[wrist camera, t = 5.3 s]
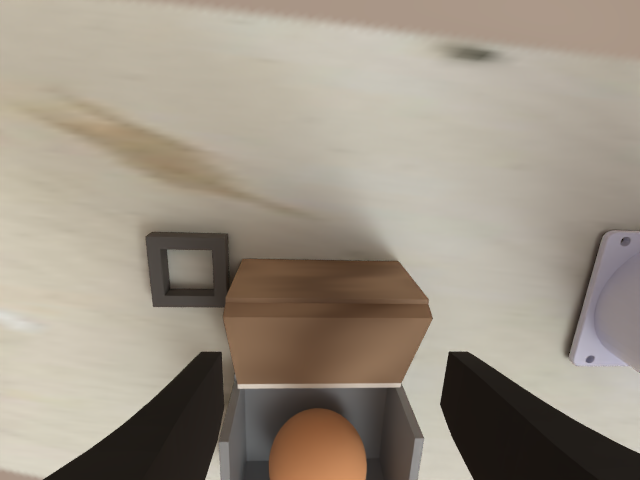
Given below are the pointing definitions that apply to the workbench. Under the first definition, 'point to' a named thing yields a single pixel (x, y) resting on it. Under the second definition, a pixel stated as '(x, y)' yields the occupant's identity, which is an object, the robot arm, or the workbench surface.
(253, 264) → the ramp
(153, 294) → the dark gray picture frame
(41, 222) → the workbench surface
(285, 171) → the workbench surface
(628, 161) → the workbench surface
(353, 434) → the ball
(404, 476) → the gray open storage bin
